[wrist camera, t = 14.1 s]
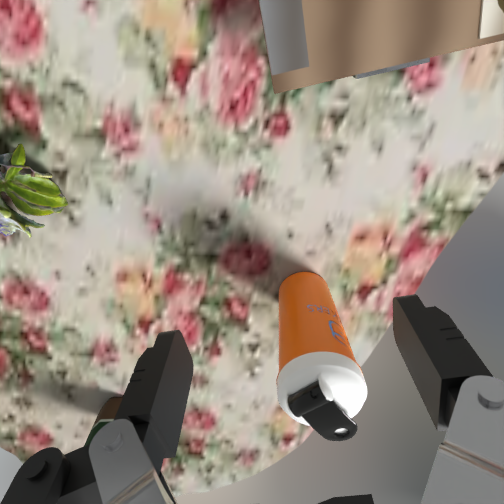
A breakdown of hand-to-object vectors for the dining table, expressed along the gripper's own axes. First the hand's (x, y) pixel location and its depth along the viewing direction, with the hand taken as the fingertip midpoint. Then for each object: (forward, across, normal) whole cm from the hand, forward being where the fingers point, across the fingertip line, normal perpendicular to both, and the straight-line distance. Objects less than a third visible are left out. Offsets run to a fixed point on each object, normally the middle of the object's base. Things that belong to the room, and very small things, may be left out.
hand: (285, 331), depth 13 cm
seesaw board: (+24, -14, -10) cm, 29 cm away
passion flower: (+30, +31, -3) cm, 43 cm away
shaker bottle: (+30, -1, +21) cm, 37 cm away
